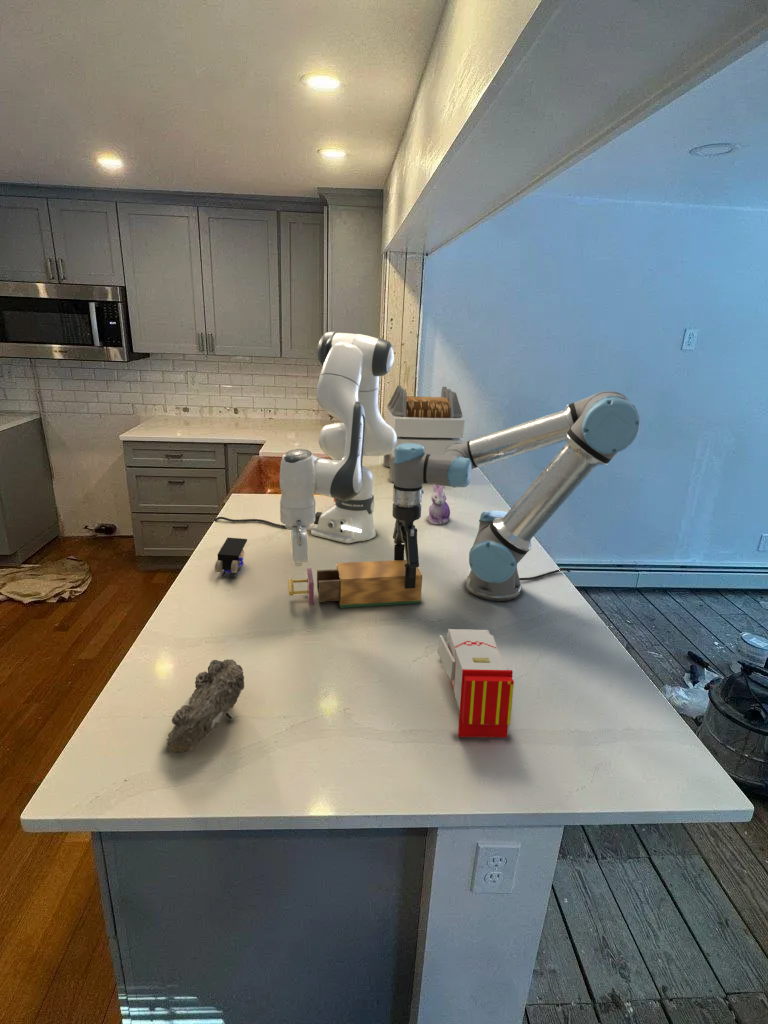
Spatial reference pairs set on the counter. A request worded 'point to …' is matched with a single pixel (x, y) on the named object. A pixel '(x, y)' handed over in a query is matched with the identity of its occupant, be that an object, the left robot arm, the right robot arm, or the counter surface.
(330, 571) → the drawer
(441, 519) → the figurine
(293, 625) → the counter surface
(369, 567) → the wooden box
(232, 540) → the figurine character
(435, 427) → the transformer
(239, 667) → the fossil
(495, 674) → the toy
